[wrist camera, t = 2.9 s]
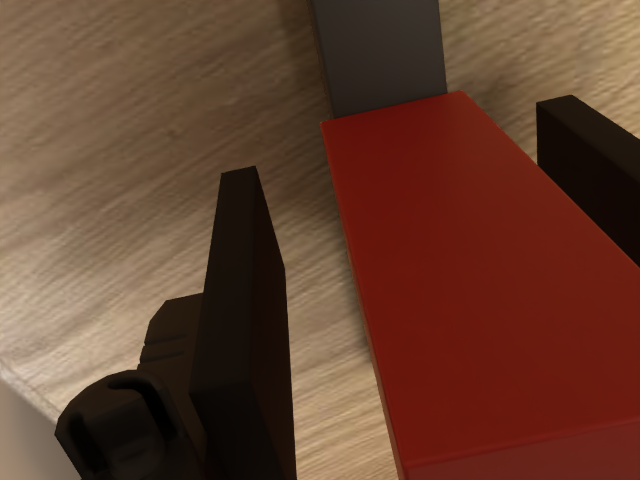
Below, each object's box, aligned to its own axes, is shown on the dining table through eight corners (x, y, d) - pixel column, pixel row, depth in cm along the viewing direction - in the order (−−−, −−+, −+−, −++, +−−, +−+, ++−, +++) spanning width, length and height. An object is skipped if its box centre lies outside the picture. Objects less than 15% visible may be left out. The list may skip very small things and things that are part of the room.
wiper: (370, 364, 19) (477, 837, 9) (258, -157, 12) (235, -344, 2) (464, 344, 19) (667, 802, 9) (407, -192, 12) (994, -536, 2)
